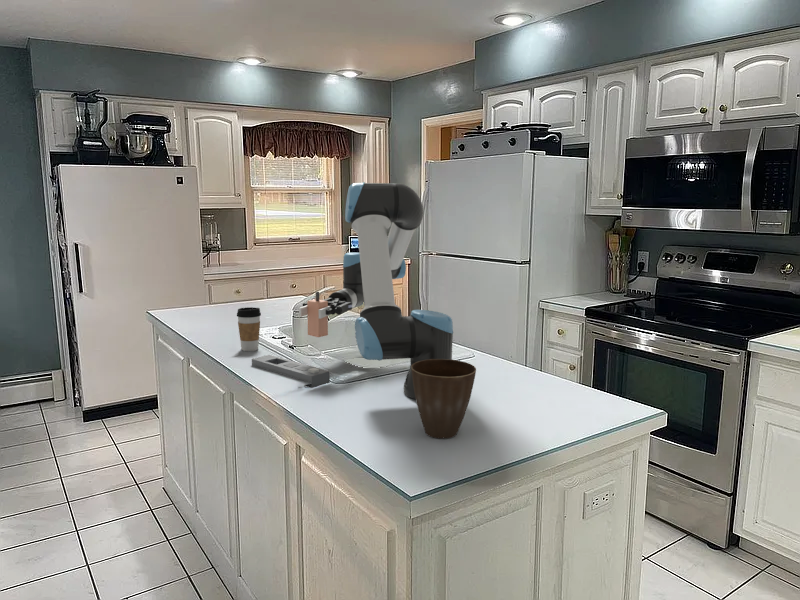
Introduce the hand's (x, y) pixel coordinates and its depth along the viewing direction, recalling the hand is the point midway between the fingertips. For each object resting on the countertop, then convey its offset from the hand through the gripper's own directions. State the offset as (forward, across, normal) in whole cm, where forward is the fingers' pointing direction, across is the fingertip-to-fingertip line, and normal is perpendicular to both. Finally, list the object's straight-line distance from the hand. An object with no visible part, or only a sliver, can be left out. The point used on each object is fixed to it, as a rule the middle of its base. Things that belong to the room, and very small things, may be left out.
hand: (309, 313), depth 187 cm
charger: (-5, 0, -8) cm, 9 cm away
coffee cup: (-18, +34, -20) cm, 43 cm away
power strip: (+5, +4, -19) cm, 20 cm away
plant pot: (+32, -52, -19) cm, 64 cm away
